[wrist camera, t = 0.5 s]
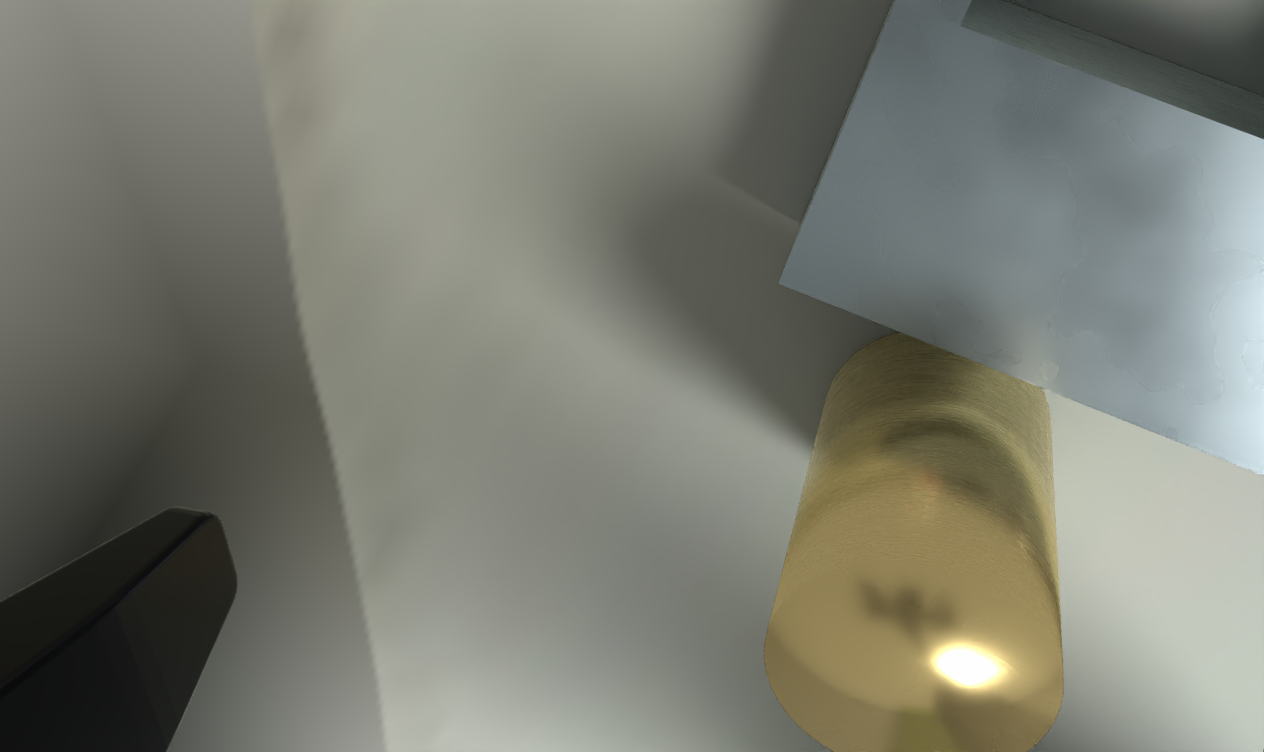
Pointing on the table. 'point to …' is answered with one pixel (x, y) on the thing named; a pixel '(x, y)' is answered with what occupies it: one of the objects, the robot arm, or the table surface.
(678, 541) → the table surface
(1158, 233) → the jig plate
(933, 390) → the cylinder
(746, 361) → the table surface
